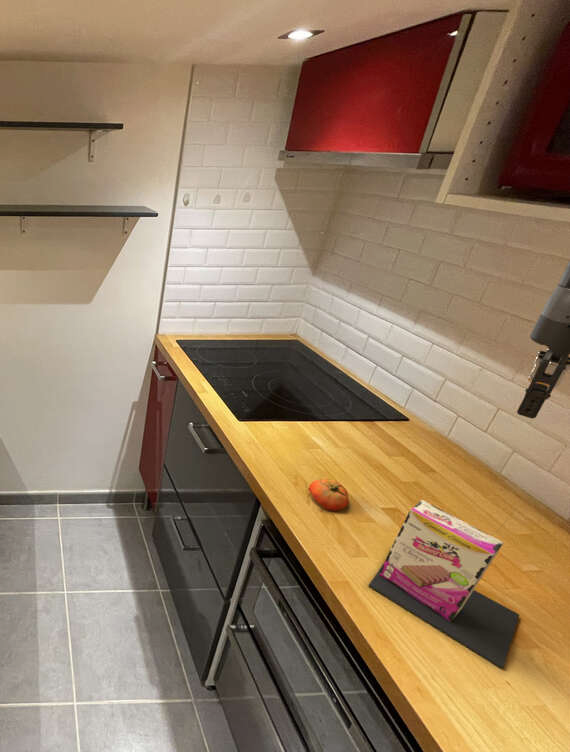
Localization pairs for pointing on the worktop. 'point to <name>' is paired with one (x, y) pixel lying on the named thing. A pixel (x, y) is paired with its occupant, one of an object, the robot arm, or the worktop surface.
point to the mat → (462, 620)
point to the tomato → (329, 494)
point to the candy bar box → (439, 559)
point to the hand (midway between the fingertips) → (529, 407)
